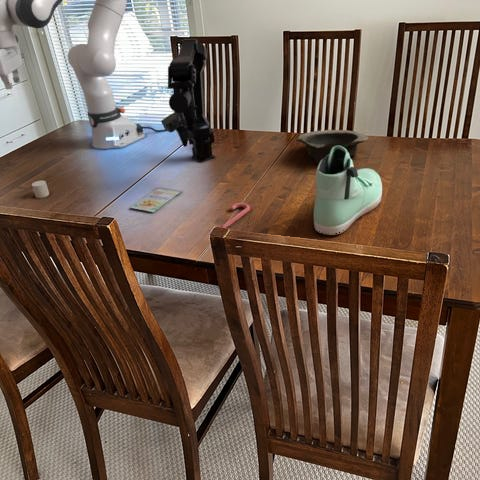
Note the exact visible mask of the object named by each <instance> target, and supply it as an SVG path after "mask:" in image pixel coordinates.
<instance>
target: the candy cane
mask: <svg viewBox="0 0 480 480" xmlns="http://www.w3.org/2000/svg"><path fill="white" fill-rule="evenodd" d="M238 208H239V209H240V208H244V209H242V210H241V211H240V212H238V213H237V214H235V215H234V216H233V217H232V218H230V219H229V220H227V221H226V222H224V223H223V224H222V225H221V226H220V228H221V227H226V229H227V228H229V227H230V226H231V225H233V224H234V223H236V222H237V221H238V220H240V219H241V218H242V217H244V216H245V215H246V214H248V213H249V212H250V211H251V206H250V204H248V203H246V202H237V203H234V204H231V206H230V207H229V209H230V211H232V212H233V211H235V210H236V209H238Z"/></svg>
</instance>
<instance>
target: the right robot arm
mask: <svg viewBox="0 0 480 480" xmlns="http://www.w3.org/2000/svg"><path fill="white" fill-rule="evenodd" d="M207 60H208V52H207V48H206V46H205V44H203V43H201V42H198V40H197V39H195V38H184V39H181V43H180V50H179V52H178V55H177V57H176V58H174V59H172V60H171V61H170V63H169V65H168V67H167V89H173V90H172V91H173V92H172V94H171V96H170V97H169V99H168V105H169V107H170V109H171V110H172V111H173V112H172V113H170V114H169V115H168V116H166V117H164V118H163V119H161V121H160V123H161V125H162V126H163V128H164V130H167V131H166V132H168V133H173V132H175V131H176V133H177V134H178V137H179V139H180V141H181V144H182V146H183V147H184V148H186V147H187V146H188V143H189V145H192V147H191V152H192V155H191V158H192V159H194V160H196V161H198V162H200V163H203V162H205V161H209V160H211V159H214V158H216V156H215V155H214V154H213V149H212V144H213V143H215V142H216V141H215V134H214V131H213V130H212V127H211V125H210V122H209V120H208V118H207V117H206V115H205V99H204V86H203V83H204V82H203V72H204V70H205V68H206V66H207Z"/></svg>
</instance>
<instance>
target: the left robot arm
mask: <svg viewBox="0 0 480 480" xmlns="http://www.w3.org/2000/svg"><path fill="white" fill-rule="evenodd" d="M63 1H64V0H0V80H1V81H2V83H3V84H4V88H5V90H11V89H13V84H12V82H11V80H10V74H11V73H12V80H13V83H14V84H19V83H20V82H21V77H20V69H19V68H20V67H22V65H23V57H22V54H21V53H22V52H21V49H20V45H19V43H20V39H19V36H18V35H17V34H16V33H15V32H14V28H13V26H17V27H27V28H28V27H29V28H34V29H43V28H45V27H47V25H49V24H50V22H51V21H52V18H53V15H54V13H55V11H56V9H57V8H58V6H60V5H61V3H62V2H63ZM127 3H128V0H95V2H94V5H93V7H92V9H91V13H90V15H89V19H88V21H87V30H88V37H87V42H86V43H79V44H75V45H74V46H72V47H70V49H69V50H68V52H67V61H68V64H69V65H70V66H71V68H72V70H73V72H74V73H75V76H76V78H77V81H78V83H79V85H80V87H81V90H82V92H83V96H84V100H85V104H86V109H87V118H88V122H89V125H90V127H91V128H90V129H91V137H92V138H91V140H92V141H91V147H92V148H94V149H98V150H107V149H121V148H122V149H123V148H124V147H127V146H128V145H131V144H132V143H135V142H137V141H139V140H141V139H143V138H145V137H146V135H145V133H144V130H145V129H146V130H147V129H148V130H152V131H153V132H156V133H163V132H168V131H167V130H165V129H156V128H153V127H151V126H142V124H140V123H135V122H134V121H133V120H131V119H129V118H127V117H125V116H123V115H122V114H125V112H126V109H125V108H124V107H123V108H122V107H117V106H116V103H115V97H114V94H113V89H112V87H111V85H110V83H109V82H108V80H107V79H106V77H109V76H111V75H112V74H113V73H114V72H115V71H116V66H117V61H116V60H117V59H116V57H115V48H116V47H115V45H116V39H117V35H118V33H119V30H120V27H121V24H122V22H123V18H124V15H125V12H126V8H127Z"/></svg>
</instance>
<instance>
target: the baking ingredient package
mask: <svg viewBox="0 0 480 480" xmlns="http://www.w3.org/2000/svg"><path fill="white" fill-rule="evenodd" d="M180 192H181V191H177V190H176V191H175V190H169V189H164V188H163V189H162V188H156V189H155V190H153V191H152V192H150V193H148V194H147V195H146V196H145V197H144V198H142V199H140V200H139V201H138V202H136V203H134V204H133V205H132V206H130V209H135V210H140V211H145V212H151V213H155V212H157V210H159V209H160V208H161V207H163V206H164V205H165V204H167V203H168V202H169V201H170V200H172V199H174V198H175V197H176V196H177V195H179V194H180Z"/></svg>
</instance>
